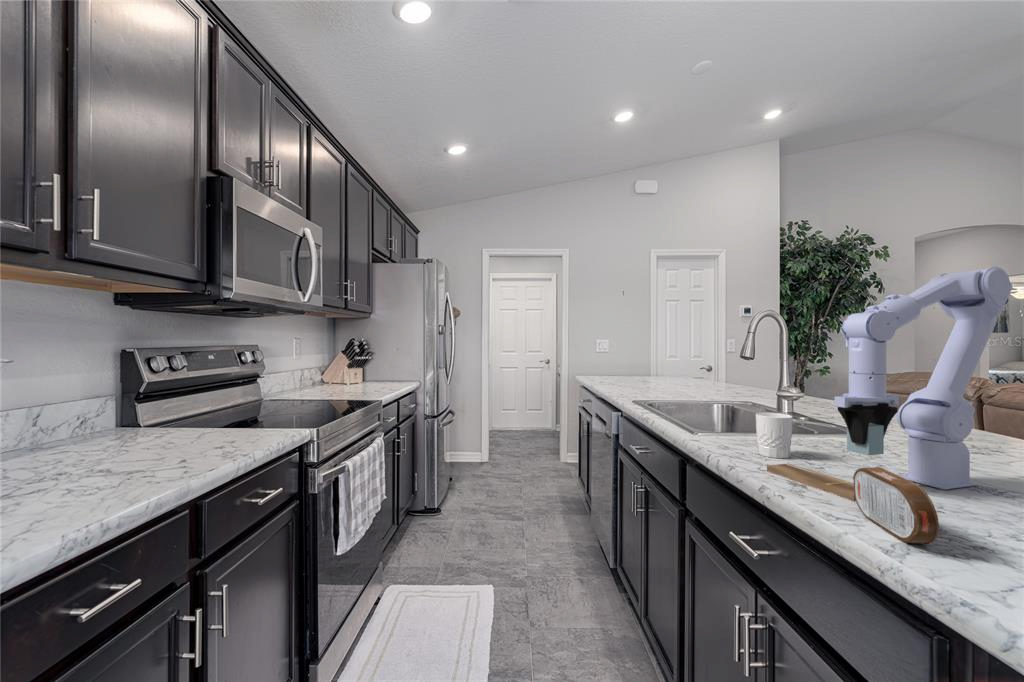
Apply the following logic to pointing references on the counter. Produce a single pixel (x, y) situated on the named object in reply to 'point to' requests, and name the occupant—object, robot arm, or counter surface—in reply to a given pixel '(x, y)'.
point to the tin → (896, 505)
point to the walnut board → (815, 479)
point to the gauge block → (869, 441)
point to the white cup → (774, 434)
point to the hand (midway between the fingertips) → (866, 442)
